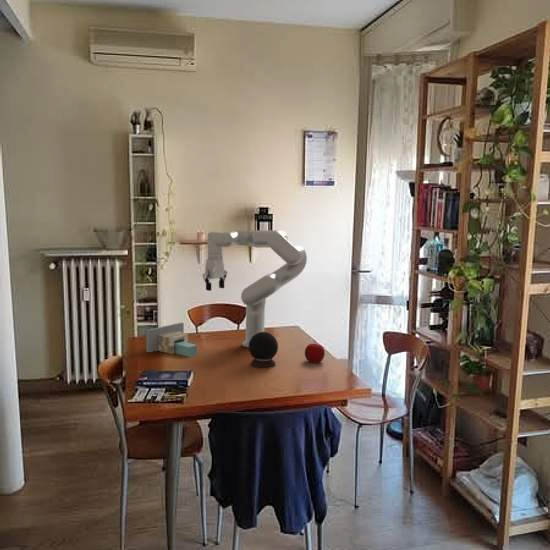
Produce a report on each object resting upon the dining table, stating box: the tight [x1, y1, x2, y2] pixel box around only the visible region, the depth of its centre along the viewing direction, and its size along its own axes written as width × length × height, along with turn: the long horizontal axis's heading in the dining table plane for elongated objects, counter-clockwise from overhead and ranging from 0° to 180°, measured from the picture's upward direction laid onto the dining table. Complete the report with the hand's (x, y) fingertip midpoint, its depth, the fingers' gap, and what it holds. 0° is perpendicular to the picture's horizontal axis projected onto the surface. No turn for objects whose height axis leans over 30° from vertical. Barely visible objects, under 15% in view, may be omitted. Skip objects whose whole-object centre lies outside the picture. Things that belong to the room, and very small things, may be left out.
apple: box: [304, 340, 326, 364], centre depth 245 cm, size 9×9×10 cm
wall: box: [145, 322, 185, 353], centre depth 263 cm, size 2×22×11 cm, turn 141°
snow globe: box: [248, 331, 279, 369], centre depth 239 cm, size 13×13×15 cm
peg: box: [173, 340, 198, 358], centre depth 256 cm, size 14×5×5 cm, turn 51°
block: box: [157, 331, 189, 355], centre depth 260 cm, size 9×11×8 cm
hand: (215, 289), depth 273 cm, fingers open, 9 cm apart
